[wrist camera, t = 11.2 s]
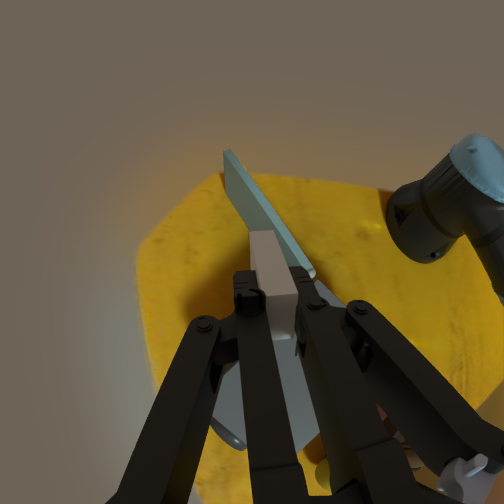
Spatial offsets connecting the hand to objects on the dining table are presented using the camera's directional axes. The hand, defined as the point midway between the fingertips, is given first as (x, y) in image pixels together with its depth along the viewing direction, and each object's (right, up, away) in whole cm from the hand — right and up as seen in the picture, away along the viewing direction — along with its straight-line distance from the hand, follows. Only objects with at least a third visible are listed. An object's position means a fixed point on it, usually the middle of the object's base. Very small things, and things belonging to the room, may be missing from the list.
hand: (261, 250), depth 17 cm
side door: (+1, +2, +23) cm, 24 cm away
